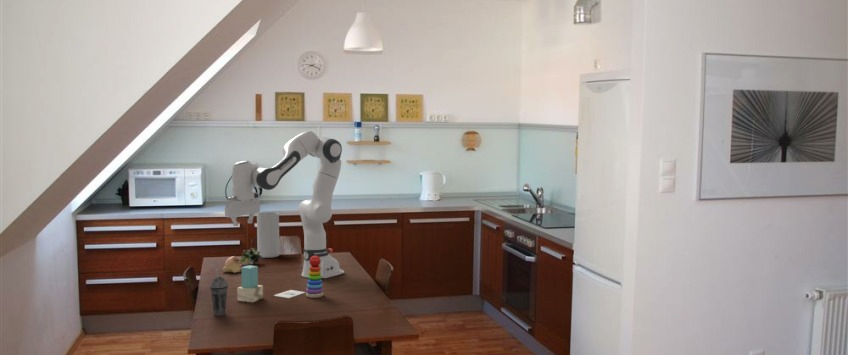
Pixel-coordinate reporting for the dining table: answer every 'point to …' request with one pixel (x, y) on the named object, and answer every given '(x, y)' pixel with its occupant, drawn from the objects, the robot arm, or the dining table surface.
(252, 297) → the base block
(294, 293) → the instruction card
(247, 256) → the green leafy clump
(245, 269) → the teal brick
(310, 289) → the stacking toy
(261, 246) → the cylinder vase
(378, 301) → the dining table surface
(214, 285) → the beverage cup
